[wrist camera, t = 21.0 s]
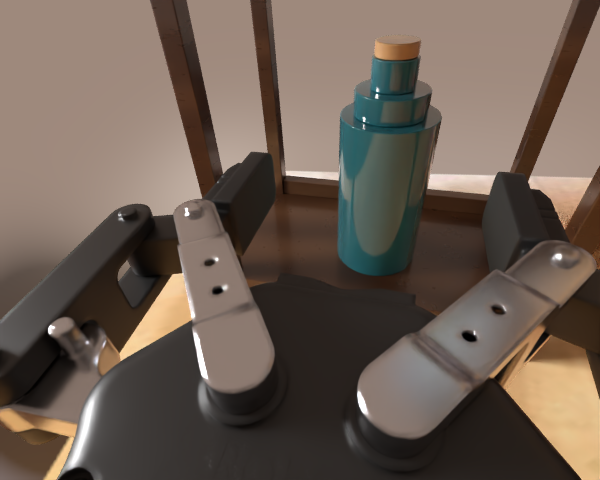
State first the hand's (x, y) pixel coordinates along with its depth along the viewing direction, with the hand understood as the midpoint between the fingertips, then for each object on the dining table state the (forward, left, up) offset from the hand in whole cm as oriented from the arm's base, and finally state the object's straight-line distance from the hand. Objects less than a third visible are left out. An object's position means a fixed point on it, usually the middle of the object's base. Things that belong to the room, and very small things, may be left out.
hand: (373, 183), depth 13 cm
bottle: (-5, -9, -12) cm, 16 cm away
